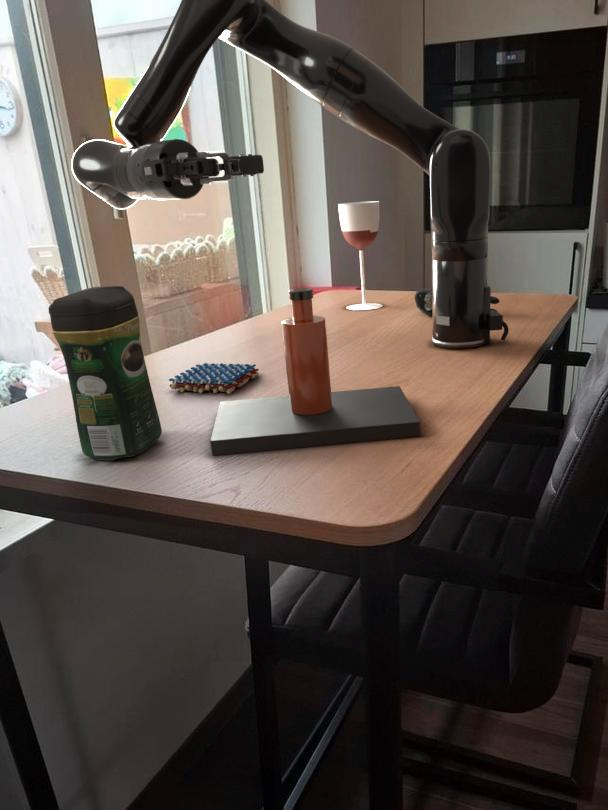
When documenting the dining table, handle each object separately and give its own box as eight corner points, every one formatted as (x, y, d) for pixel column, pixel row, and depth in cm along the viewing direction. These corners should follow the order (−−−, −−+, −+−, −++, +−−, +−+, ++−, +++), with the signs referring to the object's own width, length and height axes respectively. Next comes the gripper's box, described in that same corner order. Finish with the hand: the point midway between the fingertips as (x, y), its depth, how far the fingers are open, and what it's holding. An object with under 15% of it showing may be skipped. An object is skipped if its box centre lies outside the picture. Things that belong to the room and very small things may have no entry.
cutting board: (400, 398, 95) (399, 385, 94) (420, 436, 81) (420, 421, 80) (222, 414, 93) (220, 401, 92) (212, 455, 79) (209, 441, 79)
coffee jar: (114, 433, 89) (81, 282, 81) (172, 434, 87) (144, 280, 79) (70, 462, 80) (29, 297, 72) (133, 464, 78) (98, 295, 71)
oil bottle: (321, 399, 91) (311, 284, 85) (339, 409, 86) (330, 289, 80) (284, 407, 88) (271, 290, 82) (300, 418, 84) (288, 295, 78)
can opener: (409, 317, 144) (409, 289, 142) (420, 311, 150) (419, 284, 148) (495, 319, 138) (495, 290, 136) (502, 312, 144) (503, 284, 141)
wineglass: (389, 302, 162) (384, 200, 153) (376, 310, 154) (370, 203, 145) (353, 302, 165) (347, 202, 156) (339, 310, 156) (331, 205, 147)
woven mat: (232, 395, 101) (230, 381, 100) (167, 392, 104) (165, 379, 103) (262, 375, 110) (260, 362, 109) (202, 373, 113) (200, 361, 112)
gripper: (112, 142, 92) (180, 132, 81) (203, 140, 101) (275, 131, 90) (124, 203, 95) (191, 201, 84) (211, 196, 104) (281, 193, 94)
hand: (234, 165), depth 87 cm, fingers open, 8 cm apart
